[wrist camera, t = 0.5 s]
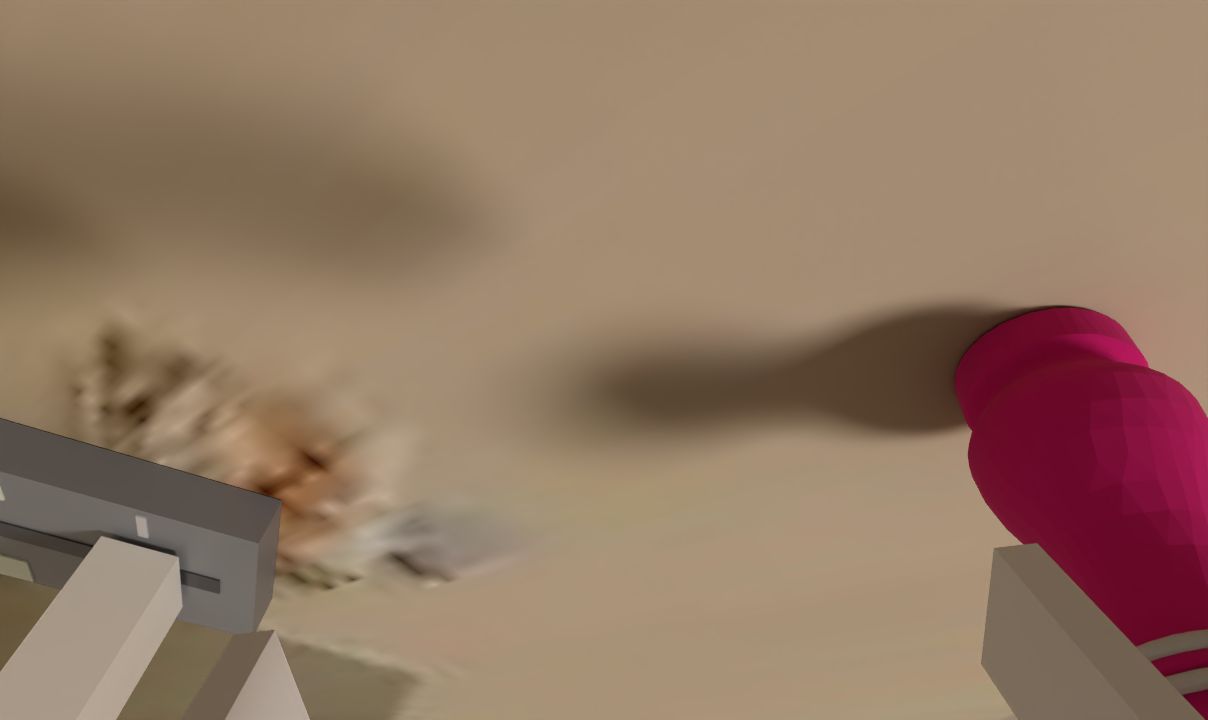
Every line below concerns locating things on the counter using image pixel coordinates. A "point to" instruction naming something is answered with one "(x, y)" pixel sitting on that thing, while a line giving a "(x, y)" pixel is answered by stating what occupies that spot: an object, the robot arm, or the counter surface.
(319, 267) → the counter surface
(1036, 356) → the pepper mill
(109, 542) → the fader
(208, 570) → the console
